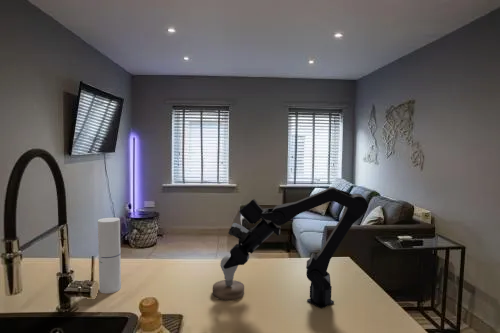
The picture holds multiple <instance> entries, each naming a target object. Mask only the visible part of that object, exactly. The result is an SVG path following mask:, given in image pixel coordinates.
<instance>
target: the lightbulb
mask: <svg viewBox="0 0 500 333" xmlns="http://www.w3.org/2000/svg"><path fill="white" fill-rule="evenodd" d="M230 256H231V254H226V255H225V256H223V257H222V258H221V259H220V263H219V264H220V265H219V266H220V269H221V271H222V272H223V275H224V280H225V285H226V286H228V287H230V286H231V285H232V284H233V280H234V276H235V273H236V271H237V269H238V267H239V265H238V266H234V267H231V268H227V269H225V268H224V267H223V266H224V265H225V263H226V262H227V261H228V259H229V258H230Z"/></svg>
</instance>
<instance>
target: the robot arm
mask: <svg viewBox="0 0 500 333" xmlns="http://www.w3.org/2000/svg"><path fill="white" fill-rule="evenodd" d="M329 202H335V203H337V204H338V205H340V206H343V207H344V209H343V211H342V215H341V217H340V219H339V220H338V222H337V224H336V225H335V227H334V229H333V230H332V231H331V233H330V234H329V236H328V238H327V240H326V241H325V243H324V245H322V248H321V249H320V250H319V252H317V253H315V252H312V253H311V255H310V258H309V259H308V260H306V265H305V266H306V267H305V268H306V274H305V275H306V278H307V279H308V281H310V286H309V298H307V300H306V302H308V303H310V304H312V305H315V306H316V307H318V308H320V309H323V308H326V307H328V306H331V305H332V304H334V303H335V301H334V300H332V285H331V275H330V273H329V272H328V267H329V264H330V261H331V259H332V258H333V256H334V255H335V254H336V251H337V250H338V248H339V246H340V245H341V243H342V242H343V240H344V239H345V237H346V236H347V234H348V232H349V231H350V229H351V228H352V227H353V224H355V223H357V221H358V220H360V219H361V218H362V217H363V216H364V215H365V213H367V211H368V208H369V203H368V200H367V199H366V198H365V196H364V195H362V194H360V193H351V192H347V191H344V190H342V189H338V188H336V187H334V186H329V187H328V188H326V189H323V190H321V191H319V192H317V193H314V194H312V195H309V196H307V197H304V198H302V199H299V200H297V201H293V202H287V203H281V204H278V205H275V206H274V207H271V208H265V209H263V208H262V206H261V205H260V204H259V203H258V201H257V200H256V199H254V198H253V199H251V200H250V202H249V203H246V204H245V205H244V206H243V207H242V208H241V209H240V210H239V211H238V213H239V214H240V215H241V216H242V217H243V219H244V220H245V221H247V223H248V224H249V225H250V224H251V225H255V226H254V227H251V228H249V229H247V228H246V227H245V226H243V225H241V224H239V223H236V222H233V223H232V225H231V226H230V228H229V231H228V233H227V234H229V235H230V236H232V237H234V238H236V239H238V243H236V244H235V245H234V246H233V247H231V249H230V250H229V255H231V256H230V258H229V259H228V261H227V262H226V263H225V265H224V266H223V267H224V268H225V269H227V268H231V267H234V266H238V267H239V266H244V265H245V264H247V263H248V261H249V259H250V254H253V252H255V250H256V249H257V248H259V247H260V246H262V245H263V243H264V242H265V241H266V240H267V239H269V237H270V236H271V235H272V234H275V235H276V236H277V237H279V236H280V234H281V228H282V227H281V226H283V225H285V224H287V223H288V222H290V221H291V220H293V219H294V218H295V217H297V216H298V215H300V214H302V213H304V212H308V211H309V210H312V209H314V208H317V207H320V206H322V205H326V204H328V203H329Z"/></svg>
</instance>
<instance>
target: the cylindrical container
mask: <svg viewBox="0 0 500 333" xmlns="http://www.w3.org/2000/svg"><path fill="white" fill-rule="evenodd" d="M97 232H98V233H97V236H98V237H97V240H98V241H97V242H98V243H97V245H98V274H99V275H98V283H99V284H98V286H99V288H98V289H99V292H100V293H102V294H112V293H116V292H118V291H120V290H121V289H122V281H121V280H122V271H121V270H122V267H121V262H122V261H121V260H122V259H121V258H122V257H121V219H120V217H116V216H115V217H104V218H103V217H102V218H99V219H98V220H97Z"/></svg>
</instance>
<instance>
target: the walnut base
mask: <svg viewBox="0 0 500 333" xmlns="http://www.w3.org/2000/svg"><path fill="white" fill-rule="evenodd" d="M244 295H245V284H244V283H243V282H241V281H239V280H235V279H233V284H232V285H231V286H230V287H228V286H226V285H225V279H223V280H220V281H215V283H213V285H212V296H213V297H214V298H215V299H217V300H220V301H235V300H236V301H237V300H238V299H241V298H243V297H244Z"/></svg>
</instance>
